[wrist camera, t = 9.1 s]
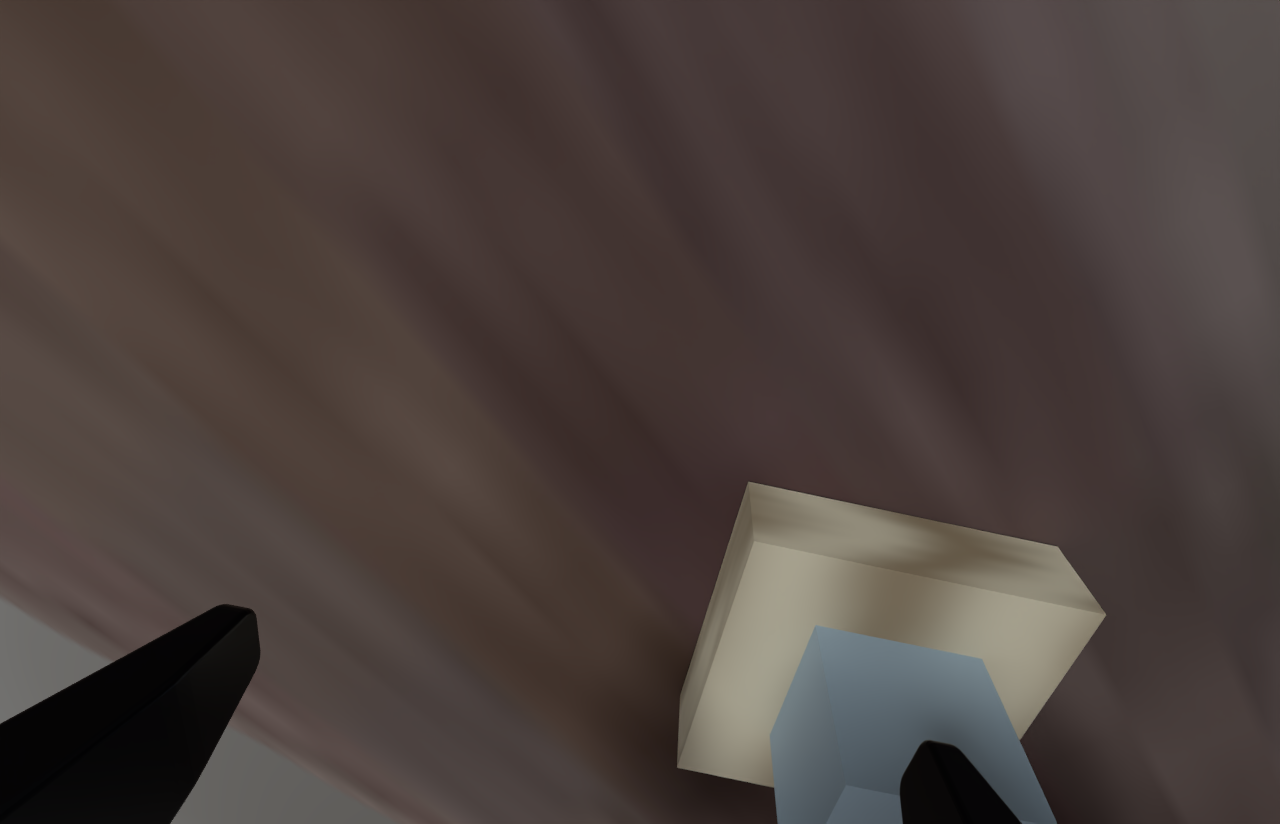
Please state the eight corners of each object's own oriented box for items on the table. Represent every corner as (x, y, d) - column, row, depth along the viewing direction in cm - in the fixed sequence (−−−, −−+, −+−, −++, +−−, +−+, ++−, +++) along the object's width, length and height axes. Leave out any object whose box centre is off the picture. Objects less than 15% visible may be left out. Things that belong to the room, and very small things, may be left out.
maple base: (1057, 546, 22) (1106, 615, 19) (934, 748, 26) (960, 825, 24) (748, 481, 22) (754, 541, 19) (680, 695, 26) (677, 767, 24)
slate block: (982, 658, 20) (1059, 827, 16) (919, 765, 22) (970, 939, 18) (815, 624, 20) (846, 784, 16) (769, 735, 22) (784, 902, 18)
